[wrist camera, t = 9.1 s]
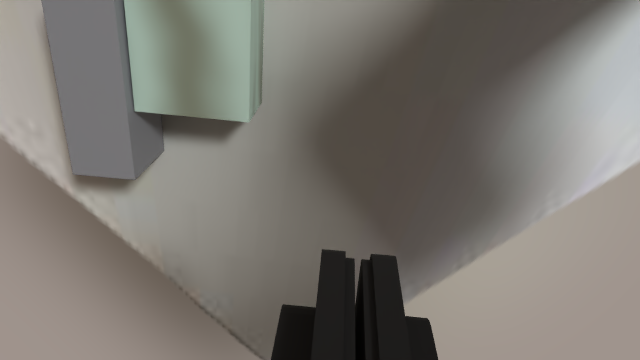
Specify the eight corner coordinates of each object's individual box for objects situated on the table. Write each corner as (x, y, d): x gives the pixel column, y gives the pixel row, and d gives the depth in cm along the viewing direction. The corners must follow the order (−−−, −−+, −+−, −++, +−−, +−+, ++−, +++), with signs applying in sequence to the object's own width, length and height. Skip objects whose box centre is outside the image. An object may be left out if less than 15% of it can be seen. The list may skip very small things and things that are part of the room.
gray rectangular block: (149, -30, 28) (110, -29, 24) (164, 150, 33) (135, 179, 29) (85, -35, 28) (35, -34, 24) (110, 145, 33) (72, 174, 29)
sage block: (265, -7, 29) (251, -2, 24) (261, 102, 32) (249, 122, 27) (154, -17, 29) (122, -14, 25) (162, 92, 32) (134, 111, 28)
